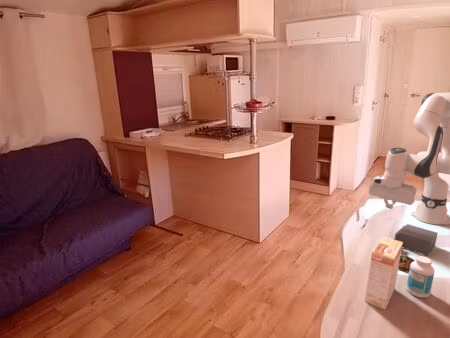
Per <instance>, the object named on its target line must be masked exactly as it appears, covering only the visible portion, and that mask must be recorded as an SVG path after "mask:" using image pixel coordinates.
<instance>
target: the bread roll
mask: <svg viewBox="0 0 450 338" xmlns="http://www.w3.org/2000/svg"><path fill="white" fill-rule="evenodd" d="M414 261H416V259H413V257H410V256H408V255H406V254H405V255H403V254H401V256H400V261H399V267H398V270H399V271H401V272H407V273H409V270H410V265H411V263H412V262H414Z"/></svg>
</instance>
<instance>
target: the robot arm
mask: <svg viewBox="0 0 450 338" xmlns="http://www.w3.org/2000/svg"><path fill="white" fill-rule="evenodd" d="M413 126H414V129H415V130H416V131H417V132H418V133H420V134H421V135H422V136H425V137H427V138H428V139H429V142H428V146H427V150H426V151H425V150H424V151H419V152H417V154H414V153H411V152H410V153H409V152H407V149H406V148H403V147H392V148H390V149H389V150H388V152H387V155H386V158H385V164H384V169H385V170H384V173H383V175H377V176H374V177H373V178H372V183H371V184H370V185H369V188H368V194H369V195H370V196H372V197H377V198H381V199H383V202H384V203H385V209H386V208H387V209H393V208H394V205H395V204H396V203H401V204H403V205H404V204H405V205H408V206H411V205H414V203H415V201H416V194H417V187H415V186H414V185H412V184H406V183H404V181H405V174H408V175H413V176H415V177H417V178H421V179H424V185H423V191H422V194H421V196H420V197H421V198H420V201H418V202H417V204H416V206H415V211H414V212H411V214H410V215H411V216H413V217H414V218H415V219H417V220H418V221H421V222H423V223H426V224H430V225H437V226H438V225H445V226H449V225H450V215H449V214H448V208H447V203H448V202H447V201H448V198H447V196H448V192H449V187H450V186H449V183H448V182H447V181H446V180H445V179H443V178H441V177H440V175H439V174H443V175H449V176H450V91H447V92H430V93H427V94H426V95H424V96H423V98H422V100H421V106H420V107H419V109H418V111H417V113H416V114H415V116H414V119H413ZM441 148H442V149H443V150H444V152H441V151H440V150H441ZM389 201H391V203H389Z"/></svg>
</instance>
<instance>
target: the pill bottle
mask: <svg viewBox="0 0 450 338" xmlns="http://www.w3.org/2000/svg"><path fill="white" fill-rule="evenodd" d="M434 276H435V267H433V266H432V259H430V258H429V257H426V256H424V255H422V256H421V255H418V256H416V258H415V261H414V262H412V263H411V265H410V270H409V272H408V276H407V280H406V282H407V283H406V290H407V292H408V293H409V294H410V295H412V296H414V297H417V298H425V299H426V298H428V297H430V295H431V290H432V286H433V282H434Z"/></svg>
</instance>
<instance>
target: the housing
mask: <svg viewBox="0 0 450 338" xmlns="http://www.w3.org/2000/svg"><path fill="white" fill-rule="evenodd" d="M404 226H405V227H404V228H403V229H402V230H401V231H399V230H398V231H399V234H398V240H397V241H401V242H403V246H402V249H406V250H409V251H411V252H414V251H416V252H415V253H417V252H419V253H418V254H420V253H422V254H421V255H423V254H424V255H423V256H425V257H426V256H429V255H430V253H431V252H432V251H433V250H434V249H435V247H436V243H437V239H438V238H437V237H438V233H439V232H437V231H433V230H430V229H429V230H428V229H425V228H422V227H419V226H415V225H412V224H408V223H407V224H405V225H404Z"/></svg>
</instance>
